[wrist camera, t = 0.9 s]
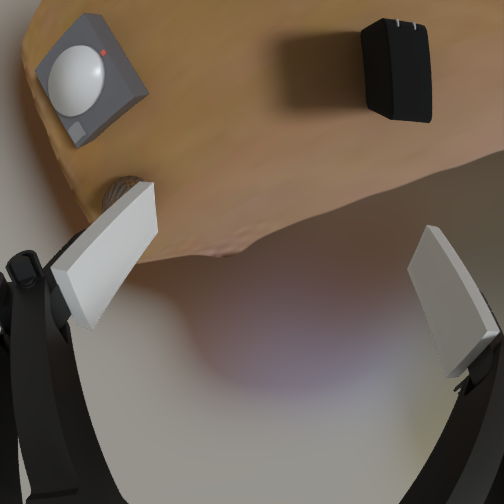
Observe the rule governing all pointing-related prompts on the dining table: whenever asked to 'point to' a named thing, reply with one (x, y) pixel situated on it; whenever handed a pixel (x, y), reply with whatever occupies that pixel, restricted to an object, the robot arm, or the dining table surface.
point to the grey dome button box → (89, 79)
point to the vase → (118, 190)
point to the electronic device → (397, 70)
